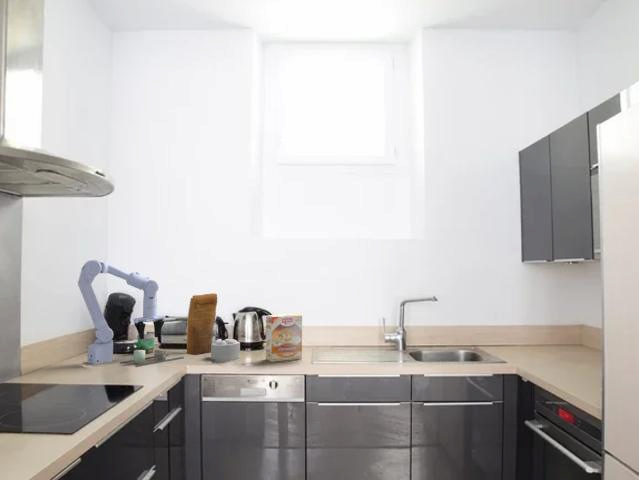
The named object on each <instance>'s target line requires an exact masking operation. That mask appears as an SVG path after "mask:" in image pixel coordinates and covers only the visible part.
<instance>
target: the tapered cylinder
mask: <svg viewBox="0 0 639 480" xmlns="http://www.w3.org/2000/svg"><path fill="white" fill-rule="evenodd" d="M145 358H146V354H145V350H138V349H137V350H134V351H133V360H134V364H143V363H145Z"/></svg>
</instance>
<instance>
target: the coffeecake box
mask: <svg viewBox="0 0 639 480" xmlns="http://www.w3.org/2000/svg"><path fill="white" fill-rule="evenodd" d="M265 316H266V317H265V360H267V361H268V362H283V361H292V360H293V361H294V360H295V361H296V360H302V359H303V315H301V314H297V313H293V314H292V313H290V314H288V313H287V314H271V315H270V314H269V315H265Z"/></svg>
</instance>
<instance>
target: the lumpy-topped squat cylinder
mask: <svg viewBox="0 0 639 480" xmlns="http://www.w3.org/2000/svg"><path fill="white" fill-rule="evenodd" d="M210 359H211V360H212V361H213V363H224V362H225V363H228V362H234V361H237V360H240V359H241V342H239V341H237V340H236V339H235V338H234V339H231V338H225V339H224V340H222V338H217V339H216V340H215V341H214V342H212V344H211V352H210Z"/></svg>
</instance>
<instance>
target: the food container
mask: <svg viewBox="0 0 639 480" xmlns="http://www.w3.org/2000/svg"><path fill="white" fill-rule="evenodd" d="M156 338H157V337H155V336H154V331H146V333H144V339H140V338H139V334H137V338H136V340H137V350H145V355H150V354H153V353H154V350H155V349H154V348H155V339H156Z"/></svg>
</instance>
